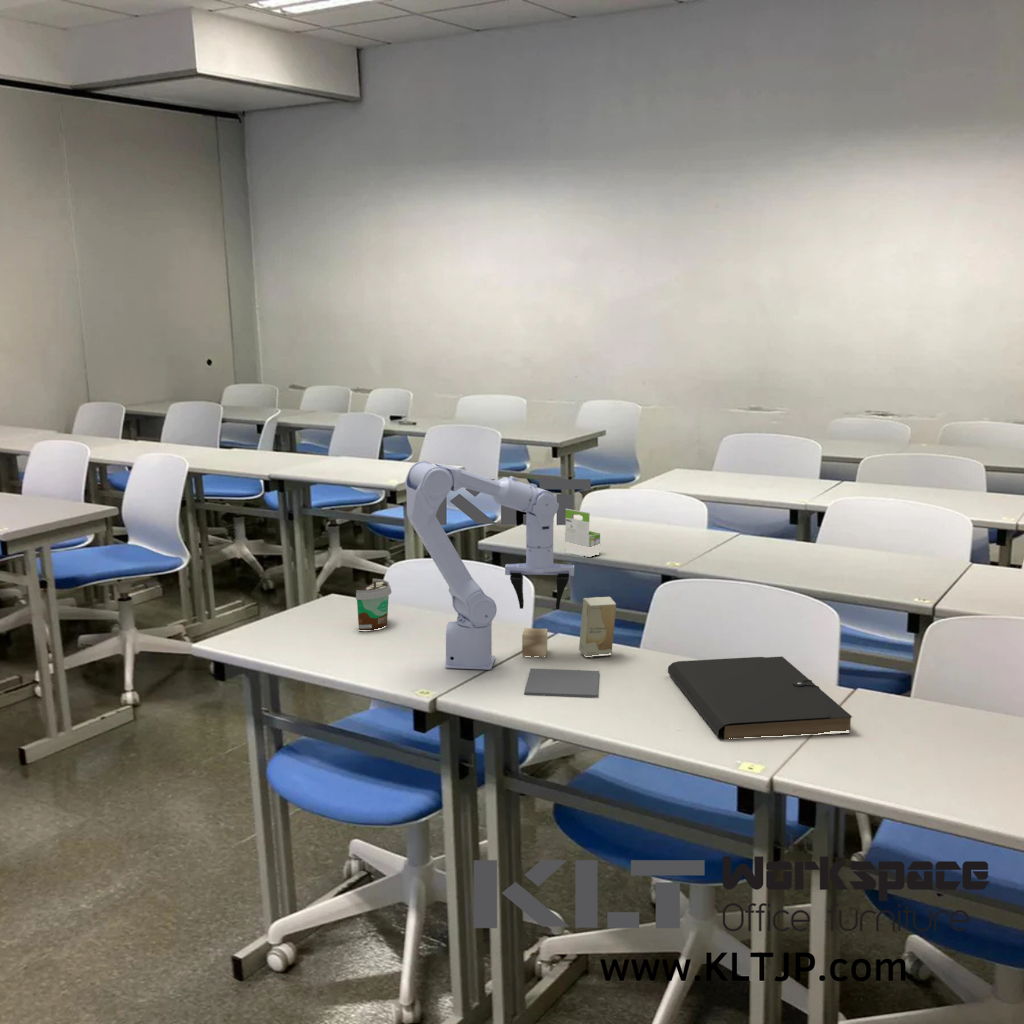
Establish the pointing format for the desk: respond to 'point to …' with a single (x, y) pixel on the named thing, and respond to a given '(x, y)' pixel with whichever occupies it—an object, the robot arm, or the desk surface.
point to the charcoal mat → (562, 683)
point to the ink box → (580, 530)
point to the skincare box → (597, 626)
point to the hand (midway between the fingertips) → (539, 607)
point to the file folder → (757, 697)
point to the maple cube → (534, 642)
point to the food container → (373, 605)
